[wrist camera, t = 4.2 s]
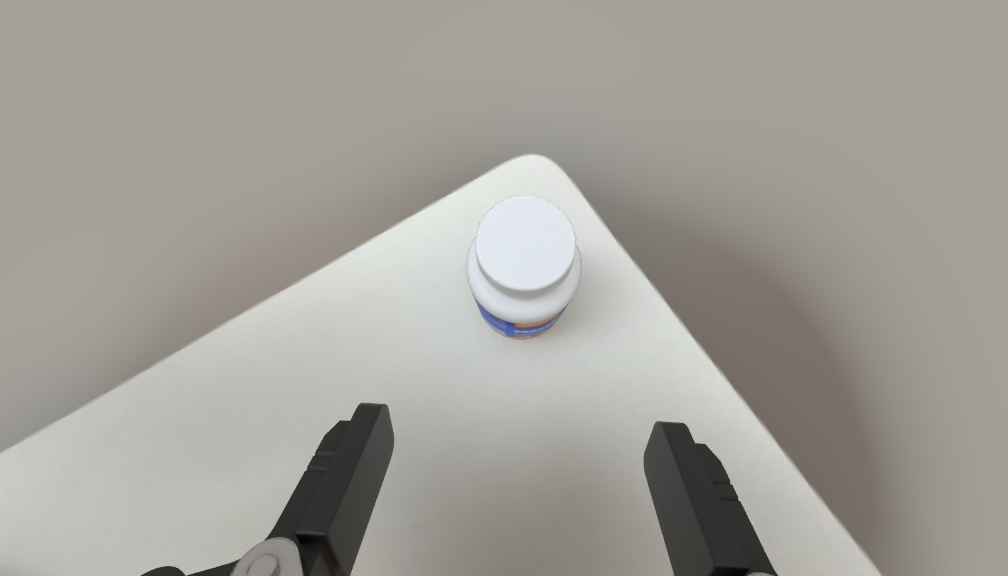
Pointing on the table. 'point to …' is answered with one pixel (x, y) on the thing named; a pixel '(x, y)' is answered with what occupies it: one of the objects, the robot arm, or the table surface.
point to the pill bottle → (523, 266)
